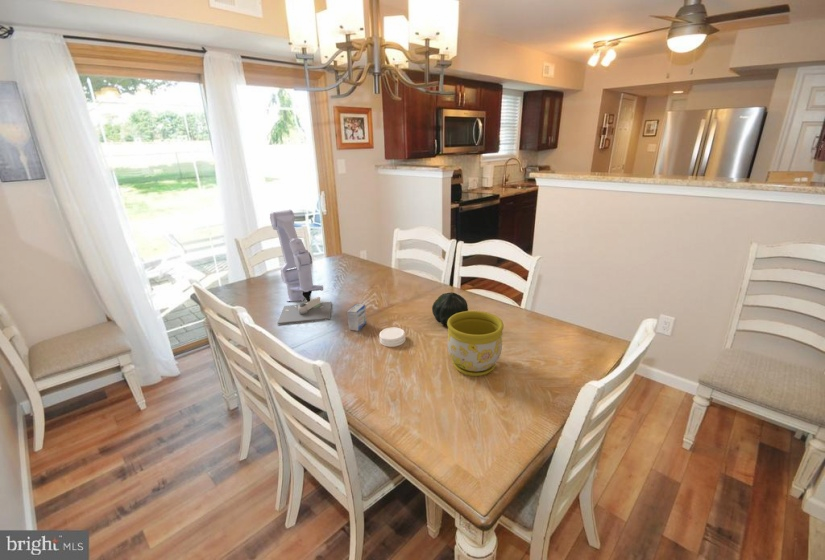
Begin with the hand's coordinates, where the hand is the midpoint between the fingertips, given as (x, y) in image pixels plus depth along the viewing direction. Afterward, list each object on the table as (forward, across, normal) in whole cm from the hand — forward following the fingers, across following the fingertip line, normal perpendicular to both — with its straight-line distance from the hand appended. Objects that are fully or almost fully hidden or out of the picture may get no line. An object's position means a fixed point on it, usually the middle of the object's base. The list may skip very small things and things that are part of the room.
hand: (309, 305), depth 170 cm
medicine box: (+2, +22, -23) cm, 32 cm away
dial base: (+2, -1, -5) cm, 6 cm away
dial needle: (0, +1, -3) cm, 3 cm away
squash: (+1, +61, -28) cm, 67 cm away
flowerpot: (+1, +60, -61) cm, 86 cm away
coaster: (+2, +35, -38) cm, 52 cm away
